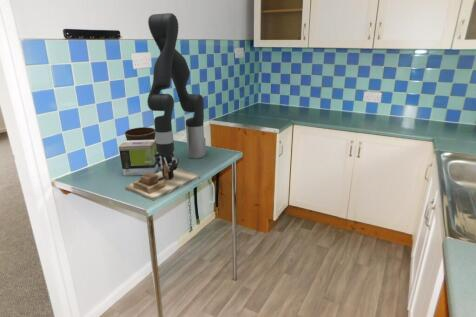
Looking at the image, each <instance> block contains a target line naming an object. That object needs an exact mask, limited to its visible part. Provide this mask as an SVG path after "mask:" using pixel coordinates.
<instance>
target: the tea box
mask: <svg viewBox="0 0 476 317" xmlns="http://www.w3.org/2000/svg"><path fill="white" fill-rule="evenodd" d="M118 150H119V156H120V164H121V169H122V174H123V175H122V176H143V175H145V174H148V173H153V174H156V173H157V171H158V170H159V168H160V167H158V165H157V162H156V159H155V156H154V155H155V154H157V153H158V152H157V150H156V140H127V139H126V140H124V141H123V142H122V143H121V144H120V145H119V146H118Z"/></svg>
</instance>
